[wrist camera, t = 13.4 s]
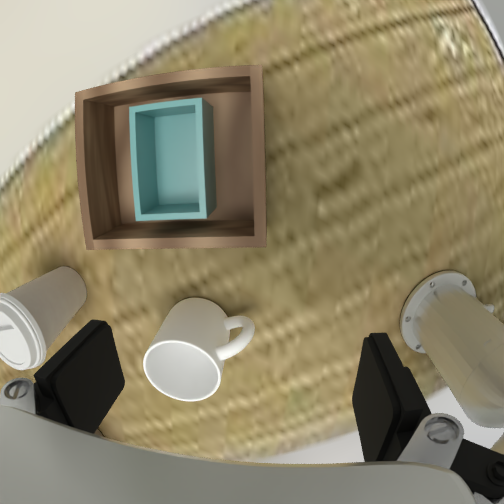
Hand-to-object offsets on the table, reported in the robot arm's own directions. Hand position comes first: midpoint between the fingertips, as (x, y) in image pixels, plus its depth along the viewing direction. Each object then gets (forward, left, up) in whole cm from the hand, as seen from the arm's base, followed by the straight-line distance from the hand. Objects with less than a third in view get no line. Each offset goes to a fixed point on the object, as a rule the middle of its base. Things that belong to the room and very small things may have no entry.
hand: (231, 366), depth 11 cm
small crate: (+8, -7, -25) cm, 27 cm away
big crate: (+8, -7, -26) cm, 28 cm away
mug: (+6, +13, -26) cm, 30 cm away
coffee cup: (+27, +9, -26) cm, 39 cm away
